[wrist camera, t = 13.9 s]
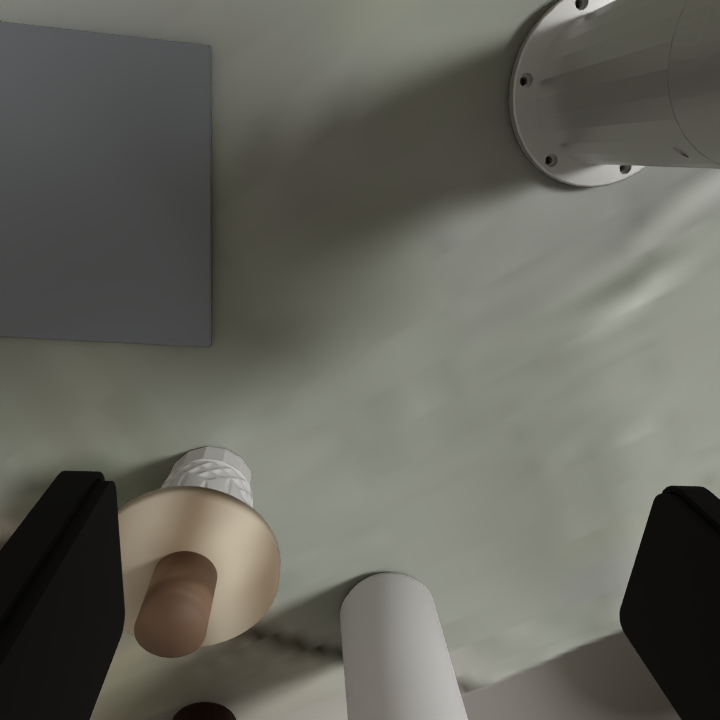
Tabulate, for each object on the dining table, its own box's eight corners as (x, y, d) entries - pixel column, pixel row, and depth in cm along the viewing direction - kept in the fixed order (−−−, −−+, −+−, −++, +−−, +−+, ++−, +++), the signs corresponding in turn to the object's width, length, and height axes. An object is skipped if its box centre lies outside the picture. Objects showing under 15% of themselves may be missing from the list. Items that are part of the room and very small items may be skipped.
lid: (281, 485, 36) (277, 541, 31) (280, 630, 40) (276, 703, 35) (84, 486, 34) (44, 545, 29) (103, 636, 39) (72, 712, 33)
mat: (211, 47, 36) (209, 45, 35) (211, 344, 42) (210, 347, 42) (-134, 7, 33) (-141, 5, 33) (-75, 329, 40) (-81, 332, 39)
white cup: (182, 531, 48) (153, 623, 39) (148, 453, 45) (107, 532, 36) (271, 507, 48) (264, 593, 39) (242, 428, 45) (227, 500, 36)
